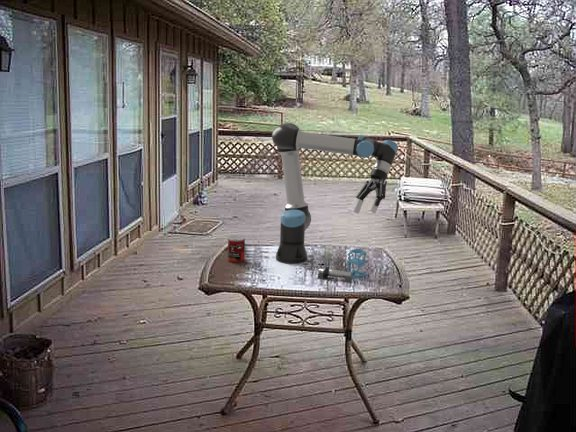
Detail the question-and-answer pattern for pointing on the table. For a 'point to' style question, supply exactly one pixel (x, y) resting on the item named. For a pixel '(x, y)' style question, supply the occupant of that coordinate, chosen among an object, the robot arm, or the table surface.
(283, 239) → the robot arm
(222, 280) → the table surface
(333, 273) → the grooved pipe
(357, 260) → the chair
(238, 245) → the canned food
